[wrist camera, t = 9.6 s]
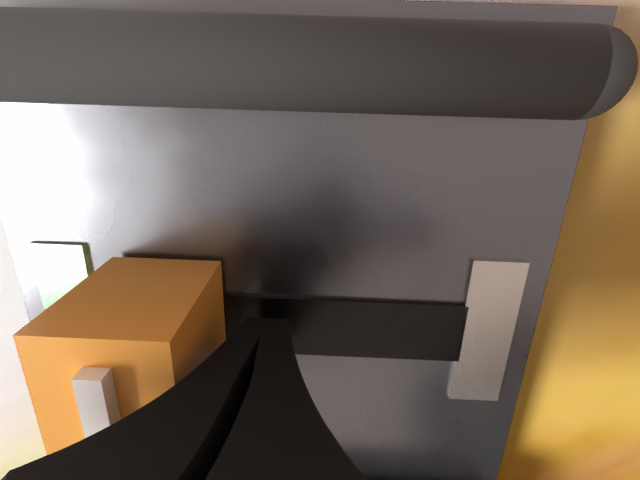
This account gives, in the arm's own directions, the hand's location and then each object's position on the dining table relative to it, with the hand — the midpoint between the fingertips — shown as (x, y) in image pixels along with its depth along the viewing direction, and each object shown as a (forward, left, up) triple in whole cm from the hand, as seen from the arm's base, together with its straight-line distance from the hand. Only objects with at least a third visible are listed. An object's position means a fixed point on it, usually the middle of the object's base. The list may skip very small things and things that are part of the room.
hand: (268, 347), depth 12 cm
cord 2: (+8, 0, -1) cm, 8 cm away
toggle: (0, +3, -1) cm, 3 cm away
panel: (0, 0, -2) cm, 2 cm away
